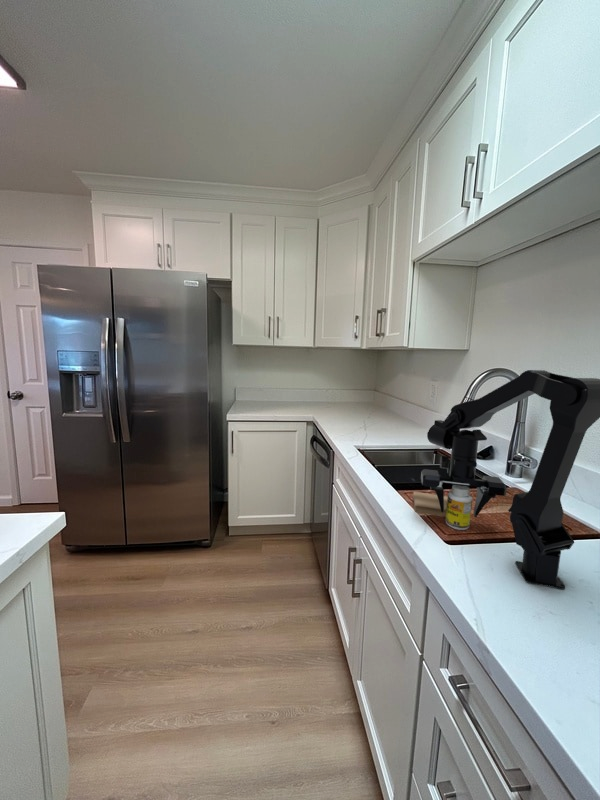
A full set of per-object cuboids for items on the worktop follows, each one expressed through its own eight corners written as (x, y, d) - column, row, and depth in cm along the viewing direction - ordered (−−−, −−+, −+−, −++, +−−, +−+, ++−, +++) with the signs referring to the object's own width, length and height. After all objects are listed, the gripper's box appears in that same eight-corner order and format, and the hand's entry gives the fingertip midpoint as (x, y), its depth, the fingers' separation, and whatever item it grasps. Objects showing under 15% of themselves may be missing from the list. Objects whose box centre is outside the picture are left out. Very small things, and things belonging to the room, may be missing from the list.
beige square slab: (454, 518, 89) (455, 511, 89) (415, 512, 92) (415, 505, 92) (448, 502, 99) (449, 496, 98) (413, 498, 101) (413, 491, 101)
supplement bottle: (440, 521, 87) (443, 483, 86) (457, 519, 89) (461, 482, 87) (456, 532, 82) (460, 492, 81) (474, 529, 84) (478, 490, 82)
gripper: (496, 449, 88) (490, 506, 90) (421, 443, 93) (417, 496, 95) (510, 462, 77) (503, 525, 80) (425, 453, 82) (420, 513, 84)
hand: (458, 514), depth 85 cm, fingers open, 7 cm apart
